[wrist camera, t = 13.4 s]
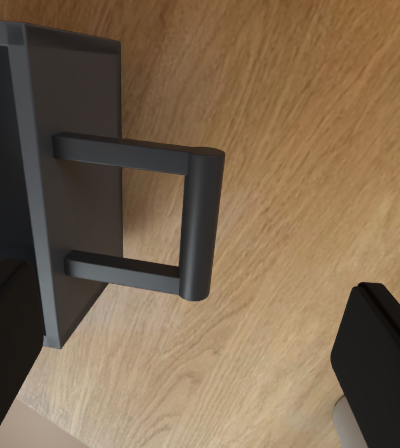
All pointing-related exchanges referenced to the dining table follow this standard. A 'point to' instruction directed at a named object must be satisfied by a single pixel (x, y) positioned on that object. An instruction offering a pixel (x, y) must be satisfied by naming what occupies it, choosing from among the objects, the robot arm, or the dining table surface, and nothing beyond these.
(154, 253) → the dining table surface
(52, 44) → the grey tool caddy
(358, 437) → the cup
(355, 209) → the dining table surface
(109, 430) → the dining table surface
